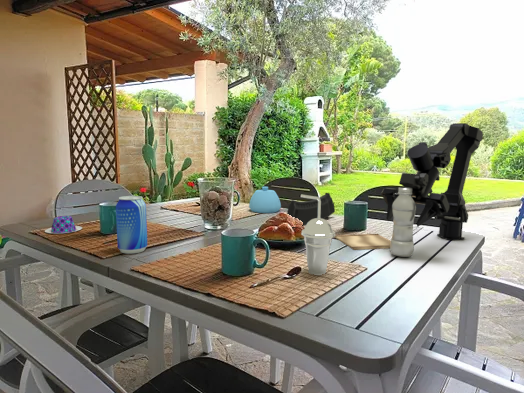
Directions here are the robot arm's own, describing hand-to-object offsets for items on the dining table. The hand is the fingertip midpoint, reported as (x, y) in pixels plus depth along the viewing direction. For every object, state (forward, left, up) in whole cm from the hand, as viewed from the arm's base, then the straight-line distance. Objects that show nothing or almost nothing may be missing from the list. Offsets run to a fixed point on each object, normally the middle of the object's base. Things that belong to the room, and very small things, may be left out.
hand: (402, 222), depth 108 cm
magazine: (+10, -49, -10) cm, 51 cm away
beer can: (+76, -18, -10) cm, 79 cm away
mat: (+2, -16, -10) cm, 19 cm away
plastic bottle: (-1, 0, -10) cm, 10 cm away
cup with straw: (+28, +9, -10) cm, 31 cm away
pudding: (+104, -48, -11) cm, 115 cm away
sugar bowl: (+24, -77, -10) cm, 82 cm away
